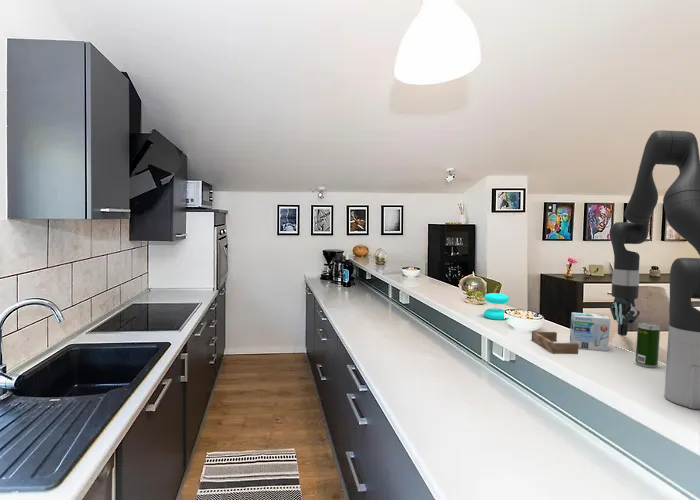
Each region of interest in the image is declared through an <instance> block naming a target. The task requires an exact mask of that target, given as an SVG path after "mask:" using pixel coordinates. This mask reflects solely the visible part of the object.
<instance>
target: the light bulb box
mask: <svg viewBox="0 0 700 500" xmlns="http://www.w3.org/2000/svg"><path fill="white" fill-rule="evenodd" d="M610 326H611V318H610V317H608V316H607V315H606V314H600V313H599V314H597V313H584V312H571V317H570V330H569V343H577V344H579V348H578V349H579V350H580V349H581V350H591V351H600V352H608V351H609V340H610V339H609V338H610V328H611V327H610Z"/></svg>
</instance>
